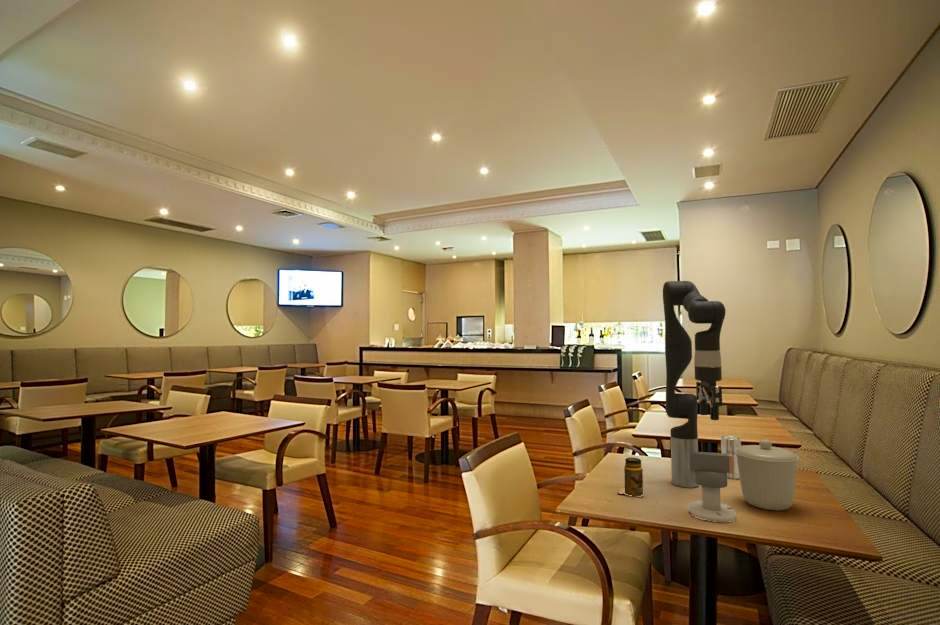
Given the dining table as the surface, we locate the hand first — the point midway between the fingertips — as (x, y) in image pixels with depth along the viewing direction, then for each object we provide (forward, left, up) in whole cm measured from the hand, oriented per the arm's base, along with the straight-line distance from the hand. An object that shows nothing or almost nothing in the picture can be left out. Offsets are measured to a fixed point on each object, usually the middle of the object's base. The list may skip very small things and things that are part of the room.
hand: (709, 417), depth 148 cm
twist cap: (0, 0, -20) cm, 20 cm away
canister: (-10, +21, -30) cm, 38 cm away
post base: (0, 0, -30) cm, 30 cm away
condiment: (-18, -20, -30) cm, 40 cm away
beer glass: (-41, +23, -30) cm, 56 cm away
